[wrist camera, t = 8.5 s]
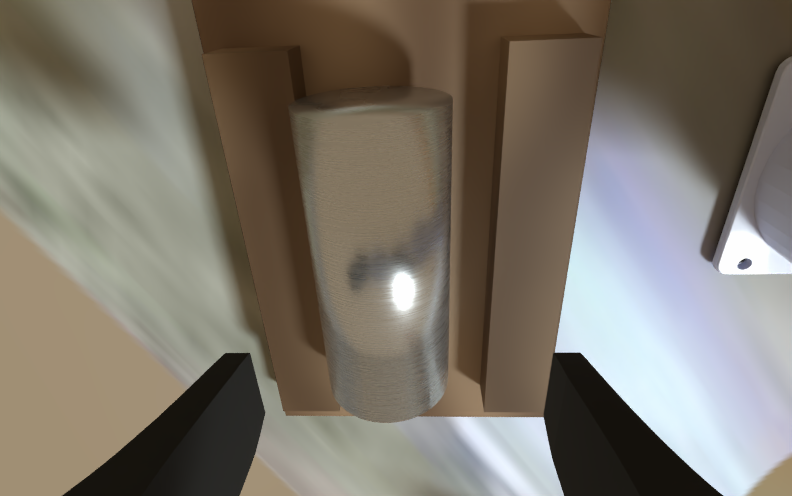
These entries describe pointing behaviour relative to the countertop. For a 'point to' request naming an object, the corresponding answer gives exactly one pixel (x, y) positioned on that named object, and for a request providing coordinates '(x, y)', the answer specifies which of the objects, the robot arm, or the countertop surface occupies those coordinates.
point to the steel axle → (379, 241)
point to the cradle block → (471, 168)
